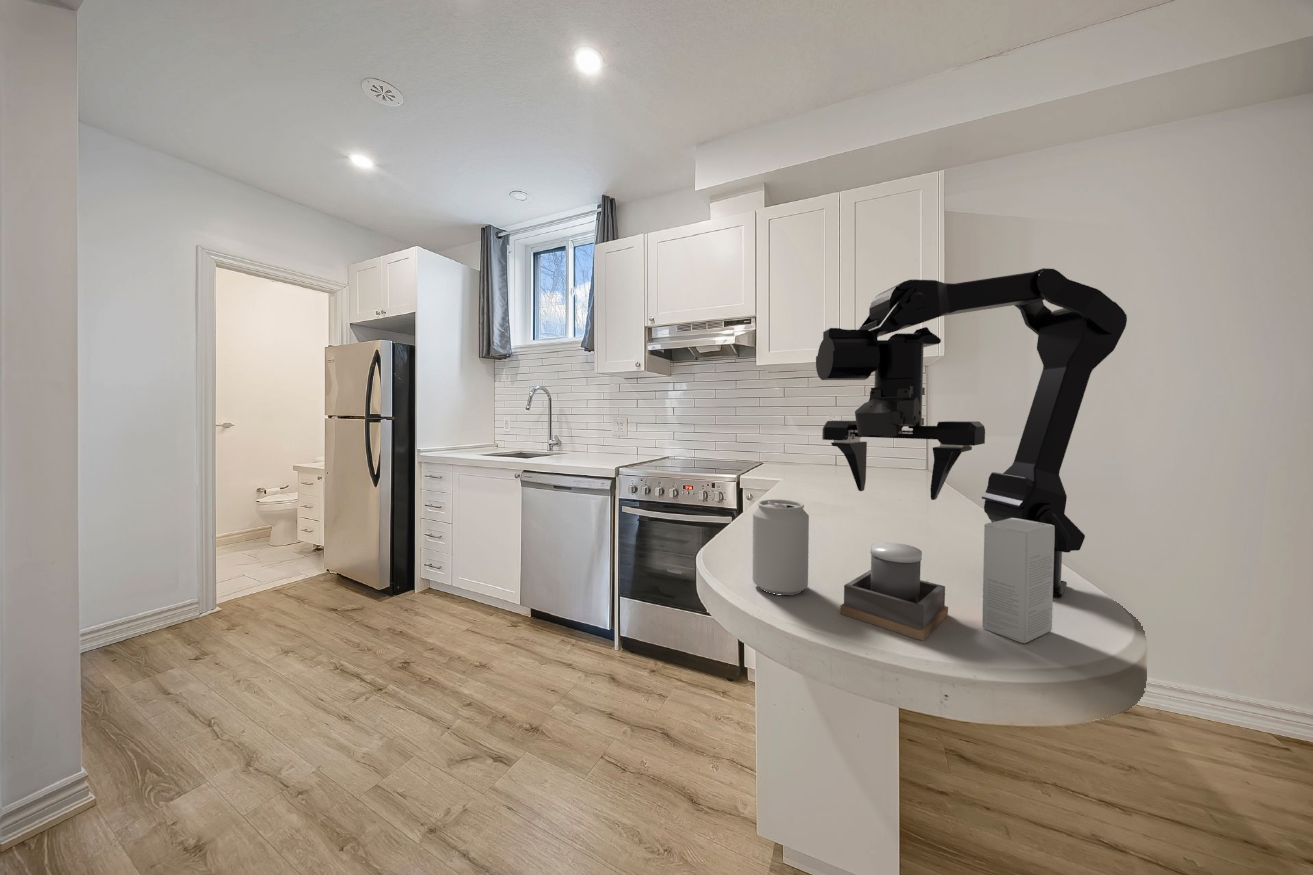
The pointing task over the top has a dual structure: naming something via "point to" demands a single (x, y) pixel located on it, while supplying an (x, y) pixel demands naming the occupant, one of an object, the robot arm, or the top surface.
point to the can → (780, 546)
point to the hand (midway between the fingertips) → (895, 495)
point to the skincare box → (1018, 578)
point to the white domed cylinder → (896, 570)
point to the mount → (895, 608)
